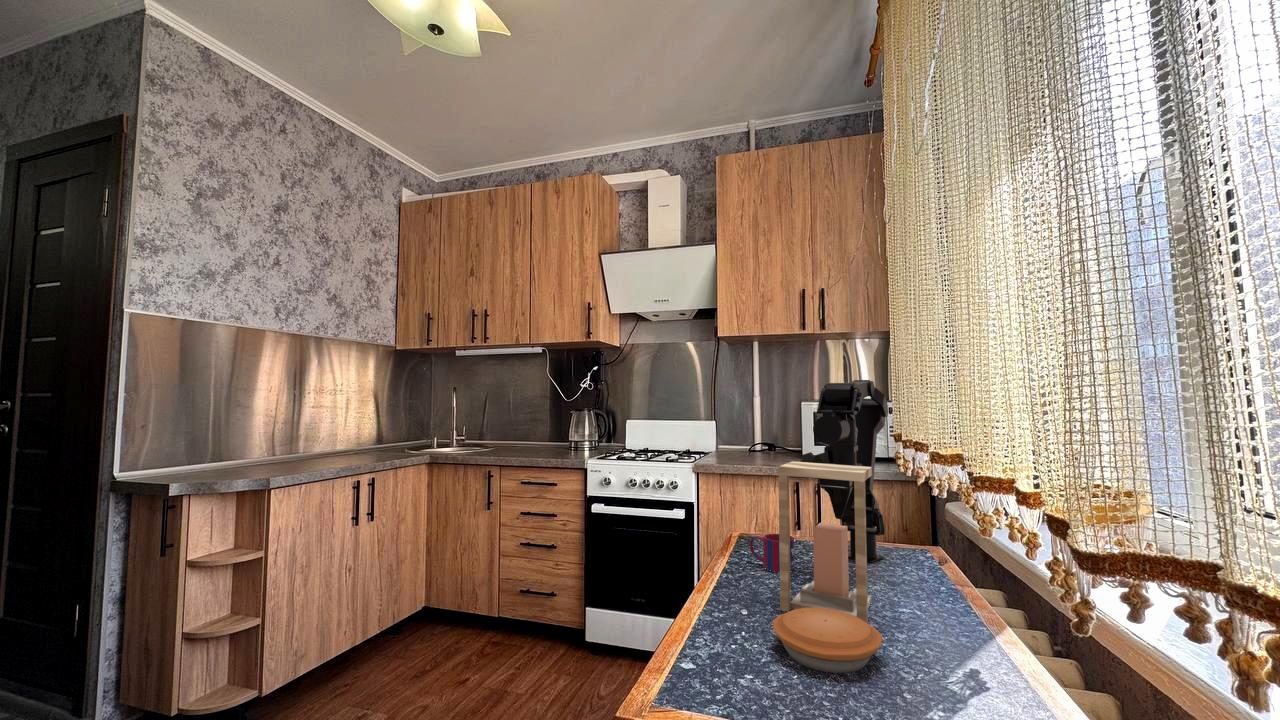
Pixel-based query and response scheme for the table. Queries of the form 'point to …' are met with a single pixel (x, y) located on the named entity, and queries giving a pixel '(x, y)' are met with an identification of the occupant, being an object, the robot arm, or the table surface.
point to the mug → (773, 552)
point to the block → (831, 559)
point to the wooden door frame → (859, 597)
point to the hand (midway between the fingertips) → (843, 514)
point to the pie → (827, 639)
